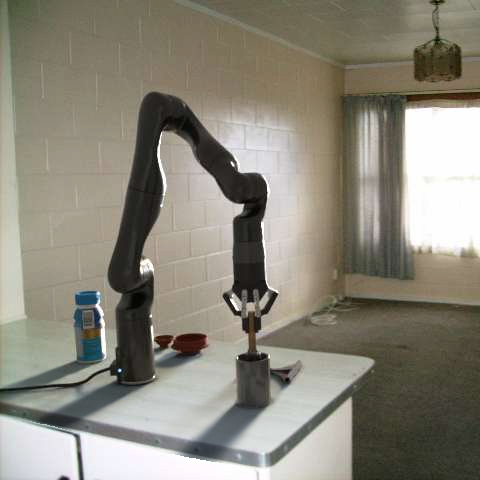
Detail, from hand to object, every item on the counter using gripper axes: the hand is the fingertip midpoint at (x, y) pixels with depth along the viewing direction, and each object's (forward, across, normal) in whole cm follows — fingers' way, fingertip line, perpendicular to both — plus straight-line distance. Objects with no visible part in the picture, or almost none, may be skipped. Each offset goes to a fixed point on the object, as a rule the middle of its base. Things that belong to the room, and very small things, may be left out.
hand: (251, 332), depth 149 cm
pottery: (+17, +23, -46) cm, 54 cm away
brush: (+11, 0, 0) cm, 11 cm away
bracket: (+17, -4, -20) cm, 27 cm away
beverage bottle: (+17, +48, -40) cm, 65 cm away
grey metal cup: (+17, 0, 0) cm, 17 cm away
